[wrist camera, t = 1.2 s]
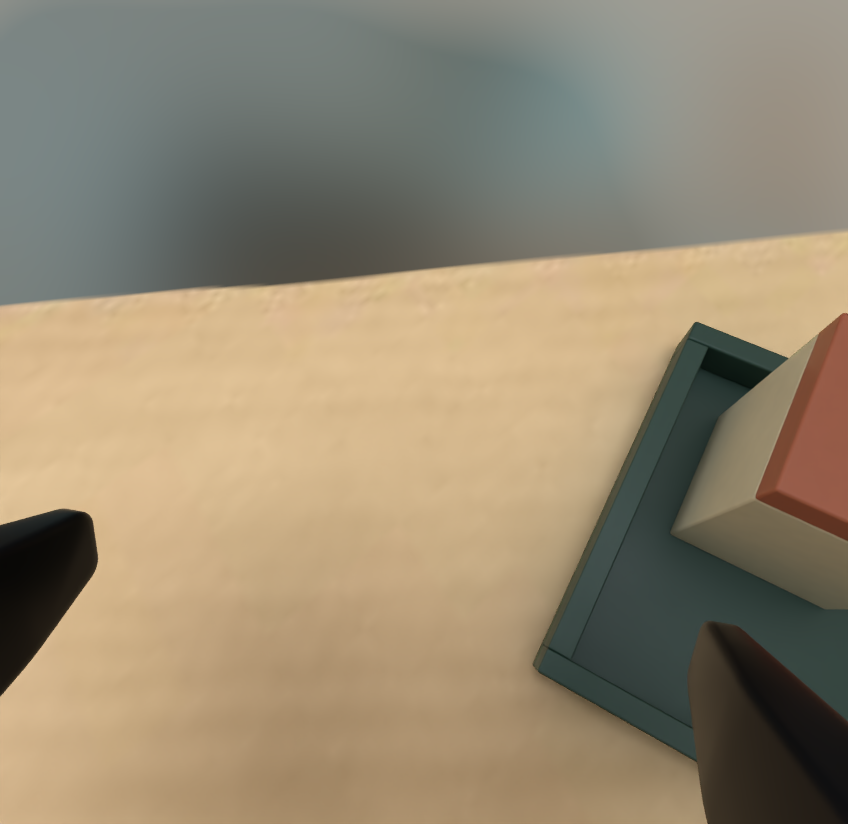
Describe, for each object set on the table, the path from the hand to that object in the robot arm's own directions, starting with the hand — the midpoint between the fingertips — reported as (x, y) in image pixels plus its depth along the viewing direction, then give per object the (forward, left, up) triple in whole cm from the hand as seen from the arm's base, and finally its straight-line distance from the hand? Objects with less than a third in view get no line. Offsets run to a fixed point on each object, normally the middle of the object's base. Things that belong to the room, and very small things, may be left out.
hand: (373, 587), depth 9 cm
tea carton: (-5, -11, -14) cm, 19 cm away
